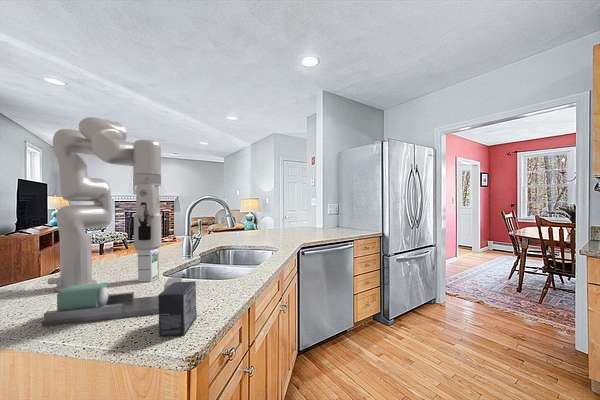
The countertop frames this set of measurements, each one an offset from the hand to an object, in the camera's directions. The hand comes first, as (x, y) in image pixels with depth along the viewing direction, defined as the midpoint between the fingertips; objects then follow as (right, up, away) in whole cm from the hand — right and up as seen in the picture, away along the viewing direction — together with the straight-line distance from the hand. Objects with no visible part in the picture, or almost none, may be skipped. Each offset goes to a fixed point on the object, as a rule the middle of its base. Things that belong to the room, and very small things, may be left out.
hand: (147, 237), depth 86 cm
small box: (+15, -22, -13) cm, 30 cm away
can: (0, -4, 0) cm, 4 cm away
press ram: (-16, -20, -5) cm, 26 cm away
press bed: (-7, -22, -2) cm, 23 cm away
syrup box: (-16, -22, +30) cm, 41 cm away
